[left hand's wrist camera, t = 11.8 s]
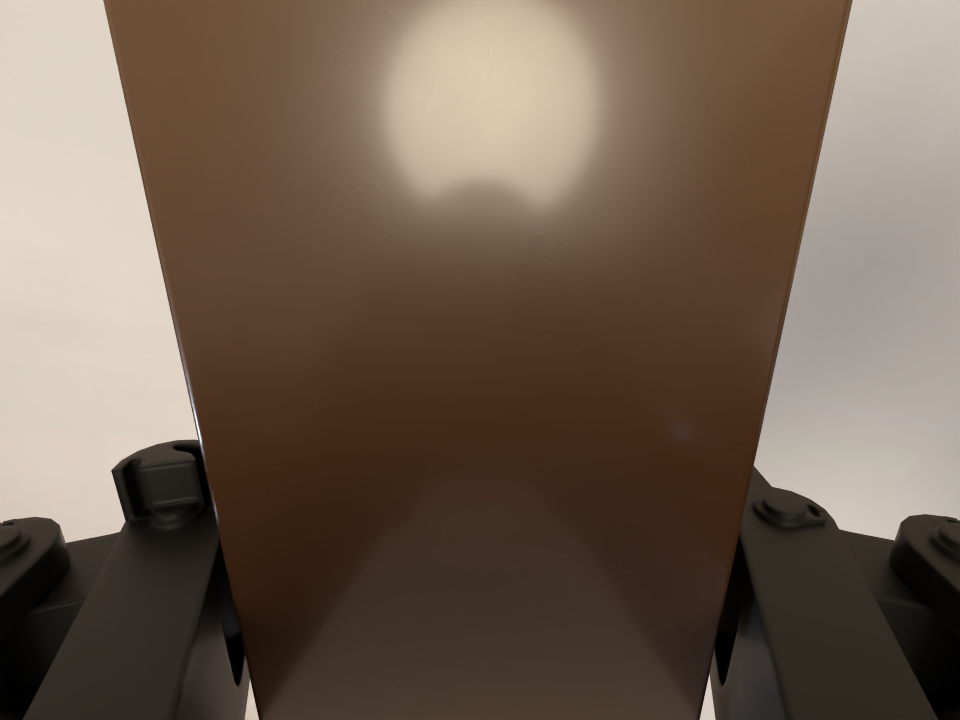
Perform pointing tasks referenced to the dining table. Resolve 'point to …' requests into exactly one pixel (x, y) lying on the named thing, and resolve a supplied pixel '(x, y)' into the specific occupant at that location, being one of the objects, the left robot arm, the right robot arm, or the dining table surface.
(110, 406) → the dining table surface
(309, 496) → the bar
